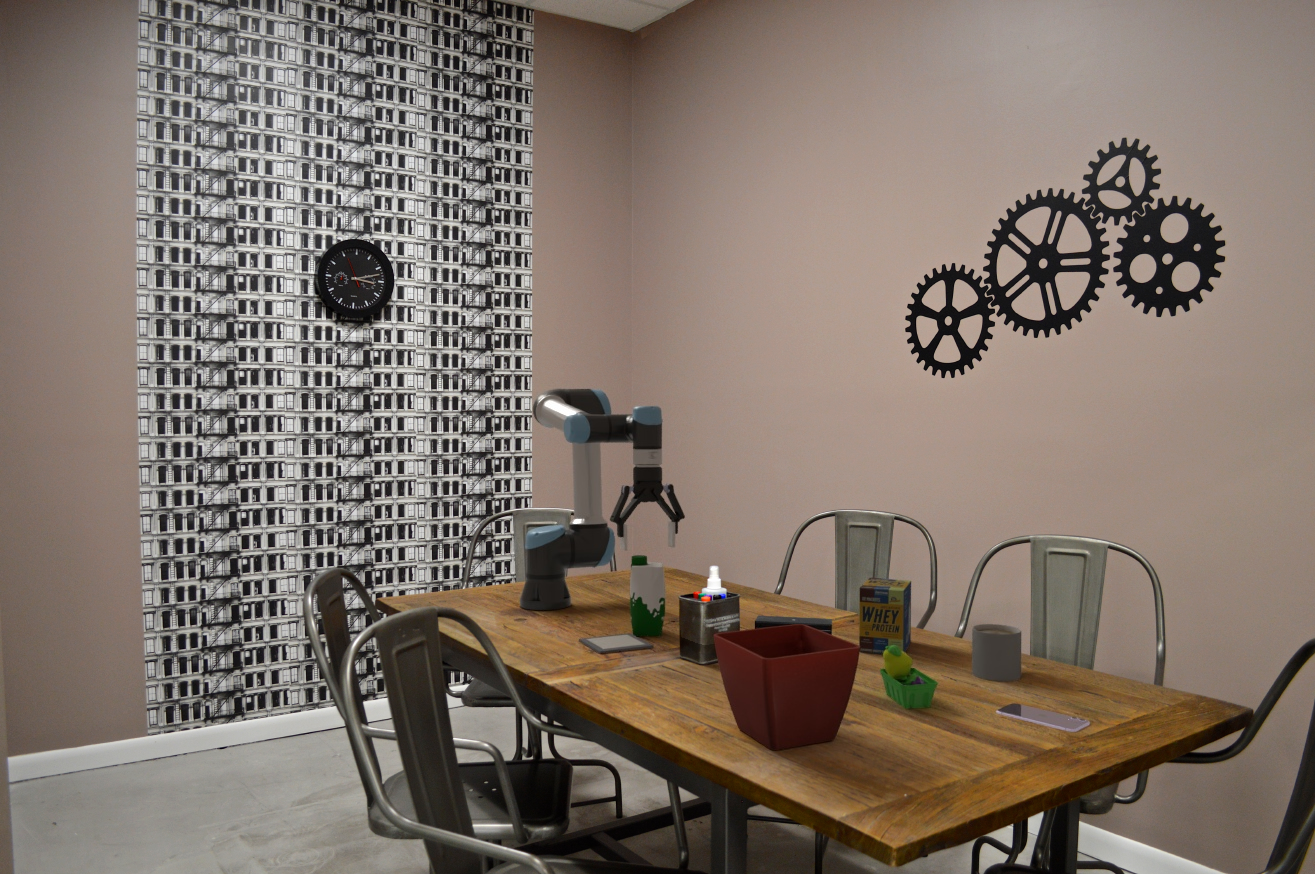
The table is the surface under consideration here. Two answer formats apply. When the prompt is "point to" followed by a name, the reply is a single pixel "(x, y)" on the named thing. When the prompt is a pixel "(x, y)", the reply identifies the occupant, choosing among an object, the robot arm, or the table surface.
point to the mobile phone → (1043, 717)
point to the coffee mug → (996, 652)
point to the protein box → (884, 615)
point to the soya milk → (647, 597)
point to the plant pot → (787, 682)
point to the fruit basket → (906, 680)
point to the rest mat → (615, 643)
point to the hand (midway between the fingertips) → (648, 548)
